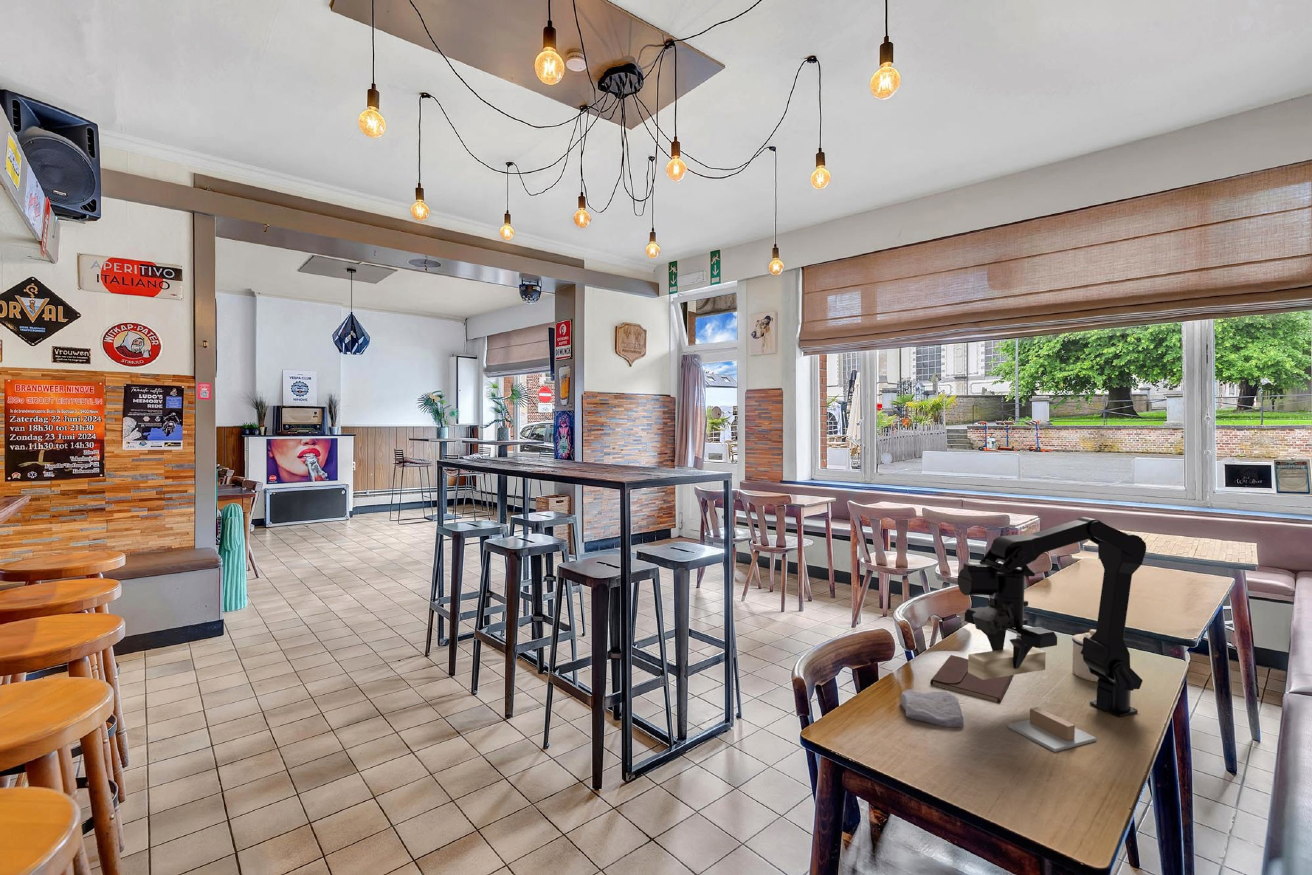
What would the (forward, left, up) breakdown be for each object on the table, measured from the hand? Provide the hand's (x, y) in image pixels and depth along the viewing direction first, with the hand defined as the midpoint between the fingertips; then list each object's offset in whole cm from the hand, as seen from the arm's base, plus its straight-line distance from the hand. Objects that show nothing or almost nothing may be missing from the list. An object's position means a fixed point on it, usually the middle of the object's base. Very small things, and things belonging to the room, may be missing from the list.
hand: (1007, 664), depth 134 cm
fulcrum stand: (+1, +11, -10) cm, 15 cm away
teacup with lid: (-38, -6, -10) cm, 40 cm away
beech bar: (0, 0, -1) cm, 1 cm away
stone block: (+18, -3, -10) cm, 21 cm away
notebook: (-6, -14, -11) cm, 19 cm away
